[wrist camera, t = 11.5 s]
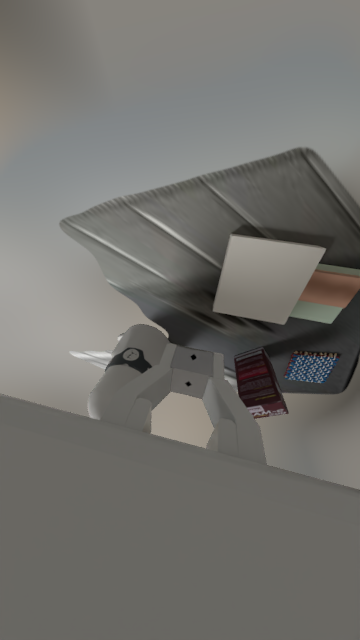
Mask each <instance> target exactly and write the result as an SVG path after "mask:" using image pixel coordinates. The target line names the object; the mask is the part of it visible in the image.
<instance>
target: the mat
mask: <svg viewBox="0 0 360 640" xmlns="http://www.w3.org/2000/svg"><path fill="white" fill-rule="evenodd" d="M316 269H317V270H324V271H330V272H337V273H344V274H350V275H357V276H360V270H359V269H353V268H346V267H339V266H332V265H326V264H319V263H318V265H317V267H316ZM342 309H343V308H341V307H335V306H329V305H323V304H318V303H312V302H306V301H300V300H298V301H297V303H296V305H295V306H294V308H293V310H292V312H291V314H290V315H289V316H290V317H296V318H301V319H307V320H313V321H318V322H324V323H329V324H331V323H332V322H333V321H334V319H335V318H336V317H337V315H338V314H339V313H340V311H341V310H342Z"/></svg>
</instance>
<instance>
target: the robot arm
mask: <svg viewBox="0 0 360 640" xmlns="http://www.w3.org/2000/svg"><path fill="white" fill-rule="evenodd" d="M111 356H112V360H111V361H110V362H109V364H108V365H107V367H106V369H105V374H104V375H103V376H102V378H101V379H100V380H99V382H98V383H97V385H96V387H95V388H94V389H93V391H92V392H91V393H90V395H89V398H88V402H87V408H88V413H89V416H90V418H89V417H86V416H82V415H78V414H74V413H71V412H67V411H63V410H59V409H56V408H52V407H48V406H44V405H41V404H37V403H33V402H30V401H26V400H22V399H18V398H15V397H11V396H7V395H4V394H0V640H360V490H358V489H355V488H351V487H347V486H344V485H340V484H336V483H332V482H329V481H325V480H321V479H317V478H314V477H310V476H306V475H302V474H299V473H295V472H291V471H287V470H284V469H280V468H276V467H273V466H269V465H267V463H266V458H265V452H264V447H263V441H262V436H261V430H260V426H259V425H258V423H257V422H256V420H255V419H254V418H253V416H252V415H251V413H250V412H249V410H248V409H247V408H246V406H245V405H244V403H243V402H242V401H241V399H240V398H239V396H238V395H237V393H236V392H235V391H234V389H233V388H232V386H231V385H230V383H229V382H228V381H227V380H224V356H223V354H220V353H214V352H209V351H204V350H199V349H194V348H190V347H185V346H181V345H176V344H172V343H170V342H169V340H168V339H167V337H166V336H165V335H164V334H163V333H162V332H161V331H159V330H158V329H157V328H155V327H152V326H149V325H144V324H139V325H134V326H132V327H130V328H129V329H128V330H127V331H126V332H125V333H123V334H120V335H119V336H118V344H117V346H116V347H115V349H114V351H113V352H112V354H111ZM170 391H171V392H176V393H180V394H185V395H189V396H193V397H196V398H200V399H202V400H203V403H204V405H205V408H206V410H207V412H208V415H209V417H210V420H211V422H212V424H213V427H214V431H213V433H212V435H211V437H210V439H209V441H208V443H207V448H206V449H205V448H202V447H198V446H194V445H190V444H187V443H183V442H179V441H176V440H171V439H168V438H164V437H161V436H156V435H153V434H150V433H151V411H152V410H153V409H154V408H155V407H156V406H157V405H158V404H159V403H160V402H161V401H162V400H163V399H164V398H165V397H166V396H167V395H168V394H169V393H170Z"/></svg>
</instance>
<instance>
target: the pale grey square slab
mask: <svg viewBox="0 0 360 640" xmlns="http://www.w3.org/2000/svg"><path fill="white" fill-rule="evenodd" d="M325 251H326V248H323V247H320V246H317V245H310V244H303V243H296V242H288V241H281V240H274V239H267V238H260V237H252V236H245V235H238V234H230V238H229V242H228V246H227V250H226V254H225V259H224V263H223V267H222V271H221V275H220V279H219V283H218V287H217V291H216V295H215V300H214V304H213V312H218V313H224V314H229V315H235V316H240V317H245V318H251V319H256V320H262V321H267V322H272V323H278V324H283V325H284V324H285V323H286V321H287V319H288V317H289V315H290V314H291V312H292V310H293V308H294V306H295V305H296V303H297V301H298V299H299V297H300V296H301V294H302V292H303V290H304V288H305V287H306V285H307V283H308V281H309V280H310V278H311V276H312V274H313V272H314V271H315V269H316V267H317V265H318V263H319V262H320V260H321V258H322V256H323V254H324V253H325Z"/></svg>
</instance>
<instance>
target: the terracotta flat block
mask: <svg viewBox="0 0 360 640" xmlns="http://www.w3.org/2000/svg"><path fill="white" fill-rule="evenodd" d="M359 289H360V276H357V275H350V274H344V273H337V272H330V271H324V270H317V269H315V271H314V272H313V274H312V276H311V278H310V280H309V281H308V283H307V285H306V287H305V288H304V290H303V292H302V294H301V296H300V297H299V299H298V300H300V301H306V302H312V303H318V304H323V305H329V306H335V307H341V308H345V307H346V306H347V305H348V303H349V302H350V301H351V299H352V298H353V297H354V295H355V294H356V293H357V291H358V290H359Z"/></svg>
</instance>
